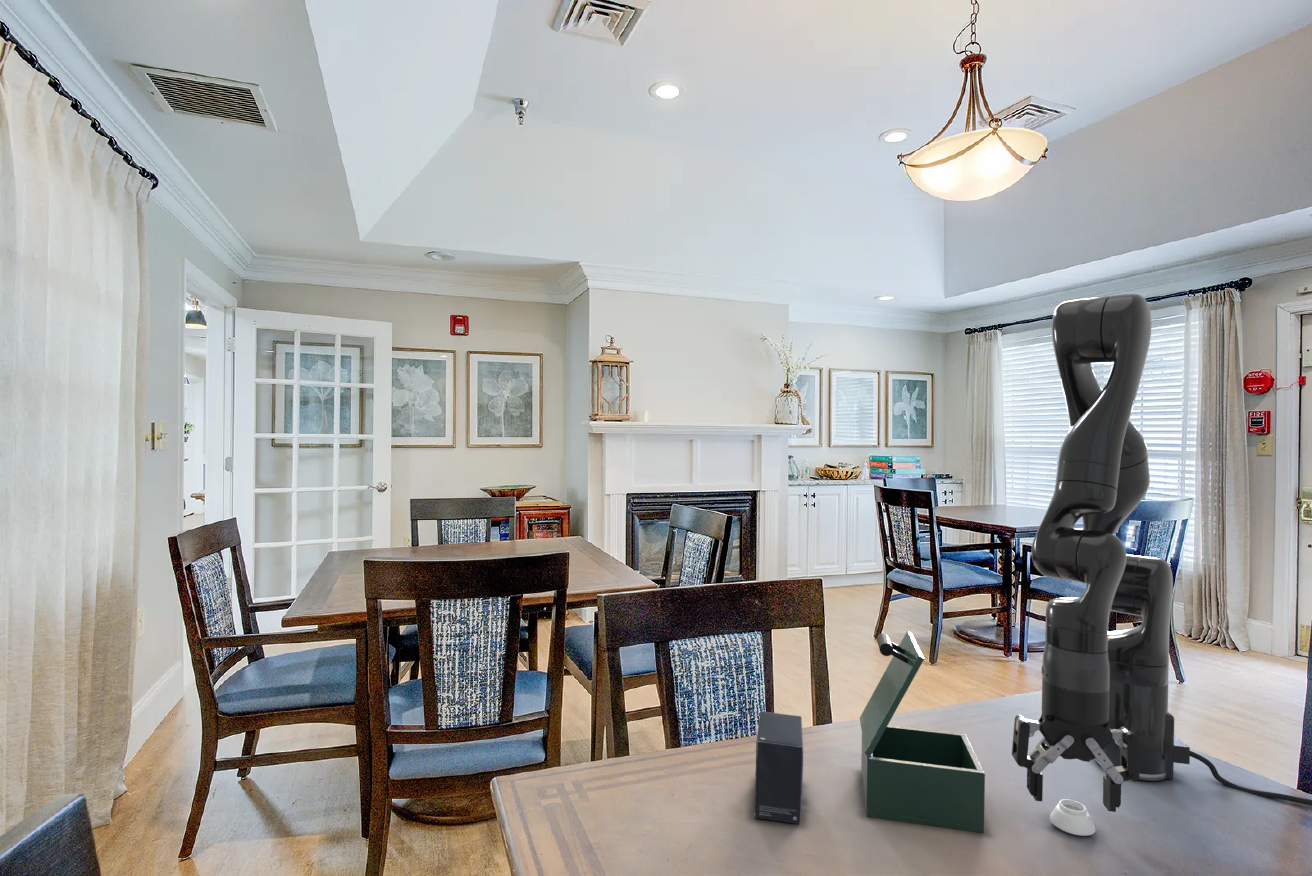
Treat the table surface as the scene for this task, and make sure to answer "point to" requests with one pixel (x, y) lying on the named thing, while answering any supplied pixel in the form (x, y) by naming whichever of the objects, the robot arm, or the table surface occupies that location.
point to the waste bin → (924, 779)
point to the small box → (779, 768)
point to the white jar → (1072, 818)
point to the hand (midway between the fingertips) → (1072, 803)
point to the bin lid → (889, 687)
